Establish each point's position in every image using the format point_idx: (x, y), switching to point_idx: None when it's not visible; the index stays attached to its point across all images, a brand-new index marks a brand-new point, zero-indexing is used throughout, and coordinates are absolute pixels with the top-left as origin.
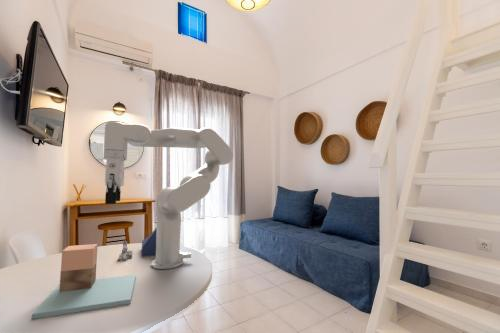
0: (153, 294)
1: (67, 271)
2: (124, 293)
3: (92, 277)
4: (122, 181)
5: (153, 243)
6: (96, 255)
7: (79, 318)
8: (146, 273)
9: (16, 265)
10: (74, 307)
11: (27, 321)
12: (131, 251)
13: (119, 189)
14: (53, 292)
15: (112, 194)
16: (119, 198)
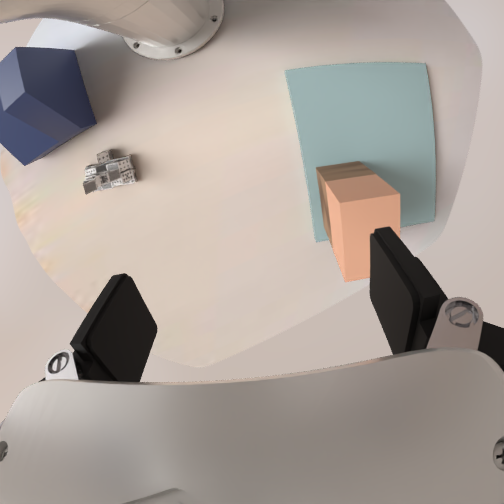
0: (387, 20)
1: None
2: (400, 77)
3: (358, 167)
4: (257, 474)
5: (64, 96)
6: (338, 187)
7: (449, 143)
8: (250, 50)
9: (183, 363)
10: (435, 161)
11: (434, 219)
12: (99, 155)
13: (75, 364)
14: None
15: (444, 301)
16: (120, 288)
